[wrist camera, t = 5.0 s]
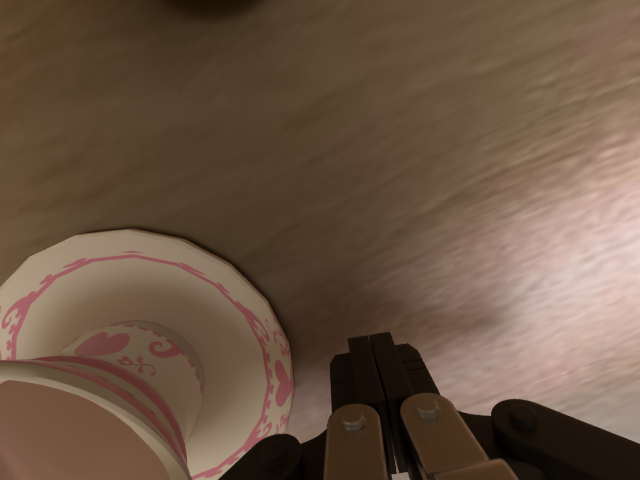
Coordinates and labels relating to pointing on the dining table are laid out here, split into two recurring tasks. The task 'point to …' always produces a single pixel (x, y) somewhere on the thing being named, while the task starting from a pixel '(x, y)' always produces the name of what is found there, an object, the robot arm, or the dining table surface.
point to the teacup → (136, 362)
